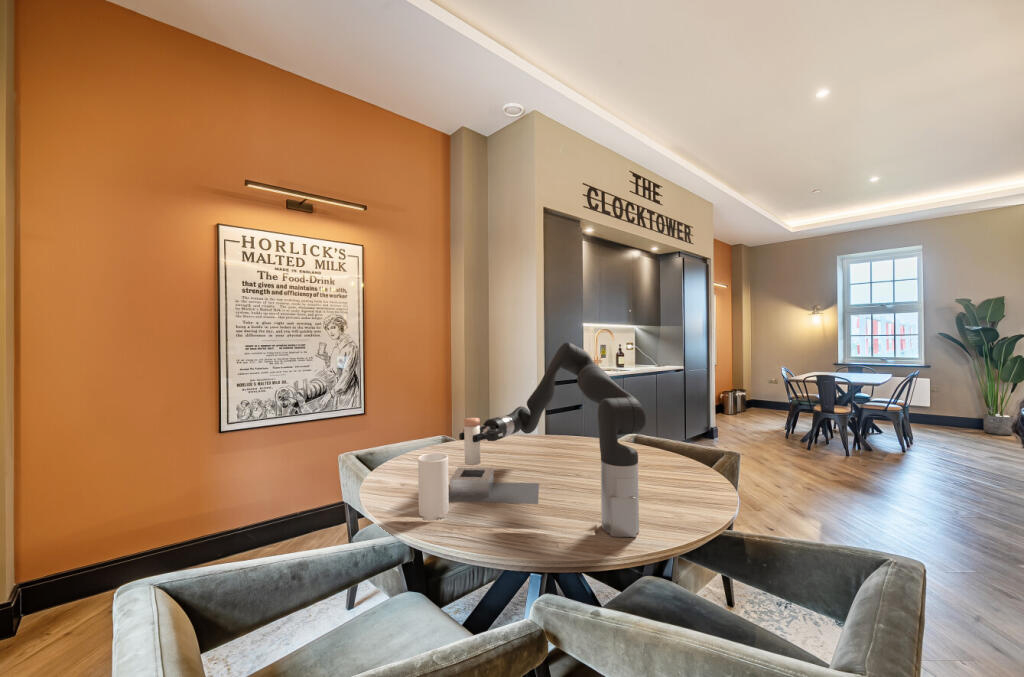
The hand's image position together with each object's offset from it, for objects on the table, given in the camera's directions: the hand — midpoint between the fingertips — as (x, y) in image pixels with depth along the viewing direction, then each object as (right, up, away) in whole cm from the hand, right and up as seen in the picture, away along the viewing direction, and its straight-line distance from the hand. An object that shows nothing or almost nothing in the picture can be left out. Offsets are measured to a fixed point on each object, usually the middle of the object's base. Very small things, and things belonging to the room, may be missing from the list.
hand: (466, 437), depth 127 cm
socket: (+2, -17, +2) cm, 17 cm away
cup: (-8, -18, -14) cm, 24 cm away
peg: (+2, -8, +2) cm, 9 cm away
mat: (+8, -18, -1) cm, 20 cm away
